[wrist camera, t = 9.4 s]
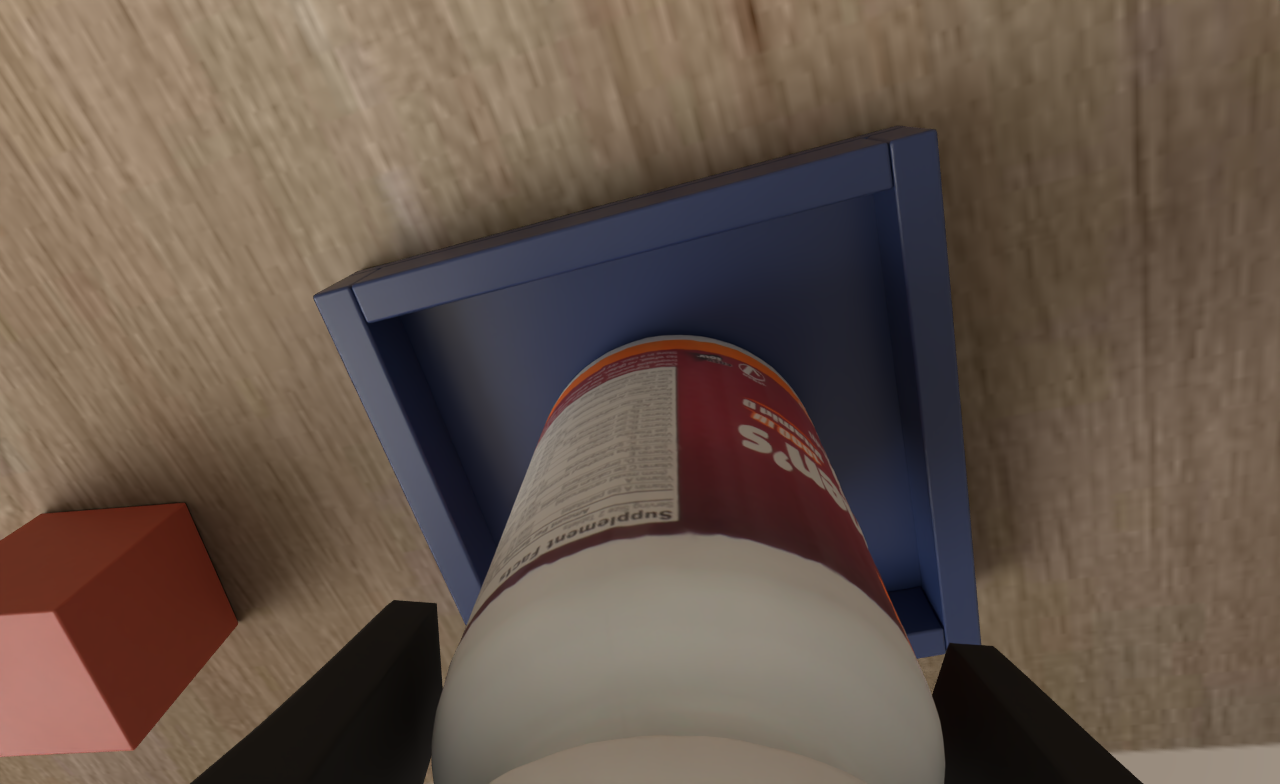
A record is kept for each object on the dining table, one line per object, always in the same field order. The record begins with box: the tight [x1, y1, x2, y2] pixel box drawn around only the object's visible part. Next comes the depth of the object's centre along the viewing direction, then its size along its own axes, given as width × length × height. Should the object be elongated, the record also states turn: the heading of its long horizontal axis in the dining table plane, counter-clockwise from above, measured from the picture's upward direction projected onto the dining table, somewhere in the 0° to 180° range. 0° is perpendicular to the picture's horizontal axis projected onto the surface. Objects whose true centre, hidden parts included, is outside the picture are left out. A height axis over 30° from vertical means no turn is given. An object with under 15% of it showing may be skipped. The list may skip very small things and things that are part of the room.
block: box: [0, 503, 238, 757], centre depth 16 cm, size 4×4×4 cm
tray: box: [313, 126, 981, 659], centre depth 15 cm, size 12×12×2 cm
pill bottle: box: [432, 335, 945, 784], centre depth 10 cm, size 6×6×11 cm
